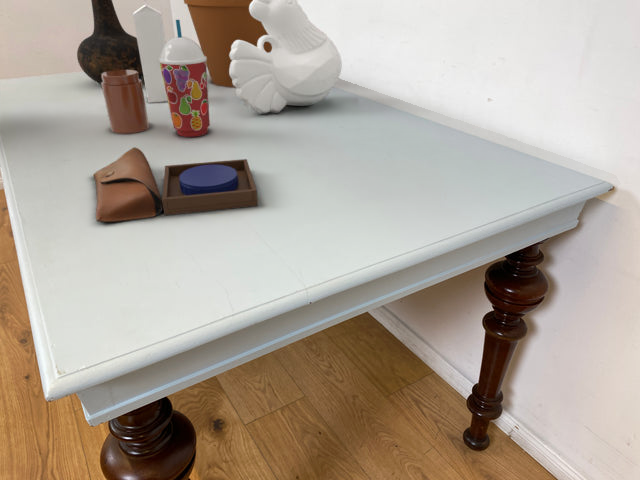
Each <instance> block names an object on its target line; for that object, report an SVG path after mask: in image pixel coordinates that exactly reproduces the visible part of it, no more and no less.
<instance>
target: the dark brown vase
mask: <svg viewBox="0 0 640 480" xmlns="http://www.w3.org/2000/svg"><path fill="white" fill-rule="evenodd" d="M91 7H92V15H93V16H92V17H93V31H92V34H91V35H90V36H87V37H86V38H85V39H83V40H82V41H81V42H80V43H79V46H78V48H77V51H76V59H77V61H78V65H79V67H80V69H81V70H82V71H83V72H84V73H85V75H86V76H88V78H90V79H91V80H92V81H93V82H95V83H98V84H100V85H101V82H103V80H102V78H101V77H102V75H101V74H102V73H104V72H107V71H113V70H135V71H137V72H138V78H139V79H140V80H142V78H144V76H143V70H142V64H141V59H140V53H139V47H138V42H137V36H134V35H131V34H129V33H128V32H126V30H125V29H124V27H123V26H122V23H121V22H120V20H119V17H118V15H117V12H116V9H115V6H114V3H113V0H91Z"/></svg>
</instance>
